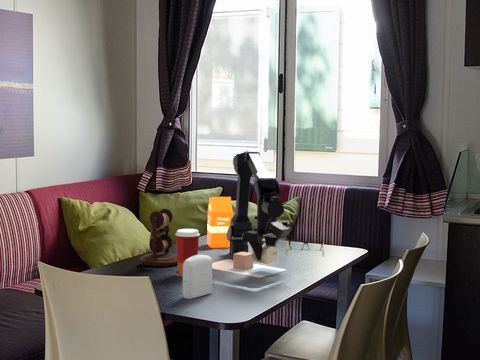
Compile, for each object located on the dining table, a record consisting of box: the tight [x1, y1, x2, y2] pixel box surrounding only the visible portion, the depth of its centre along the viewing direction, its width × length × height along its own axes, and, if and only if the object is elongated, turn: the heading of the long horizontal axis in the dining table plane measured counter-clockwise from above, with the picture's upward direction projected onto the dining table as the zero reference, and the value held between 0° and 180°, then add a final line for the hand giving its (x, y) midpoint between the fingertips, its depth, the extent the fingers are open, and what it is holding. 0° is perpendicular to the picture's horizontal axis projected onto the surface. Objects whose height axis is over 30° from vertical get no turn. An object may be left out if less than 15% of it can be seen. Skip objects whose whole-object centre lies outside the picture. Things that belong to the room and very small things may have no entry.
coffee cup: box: [174, 228, 201, 277], centre depth 254 cm, size 8×8×15 cm
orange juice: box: [206, 196, 234, 249], centre depth 305 cm, size 8×9×20 cm
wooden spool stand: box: [139, 208, 178, 268], centre depth 267 cm, size 15×15×20 cm
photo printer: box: [182, 254, 213, 300], centre depth 227 cm, size 10×4×12 cm, turn 140°
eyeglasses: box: [286, 239, 325, 257], centre depth 296 cm, size 14×14×4 cm
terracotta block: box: [232, 252, 255, 270], centre depth 261 cm, size 5×5×5 cm
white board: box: [212, 258, 287, 279], centre depth 261 cm, size 26×16×1 cm, turn 52°
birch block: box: [251, 243, 278, 265], centre depth 256 cm, size 6×6×5 cm
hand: (264, 258), depth 256 cm, fingers closed on birch block, 6 cm apart
